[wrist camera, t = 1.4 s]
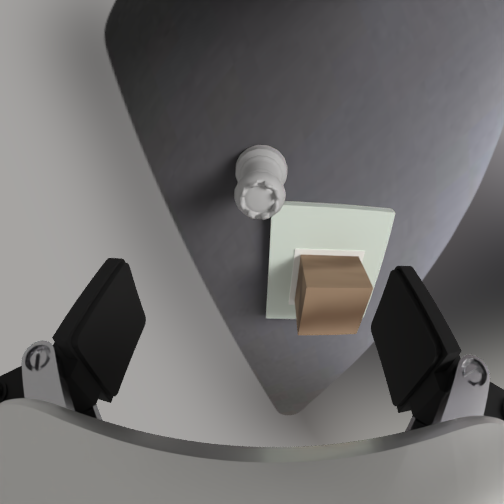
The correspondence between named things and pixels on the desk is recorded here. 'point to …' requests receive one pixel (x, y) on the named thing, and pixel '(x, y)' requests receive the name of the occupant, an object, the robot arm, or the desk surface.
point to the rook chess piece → (260, 182)
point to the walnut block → (331, 294)
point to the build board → (321, 244)
